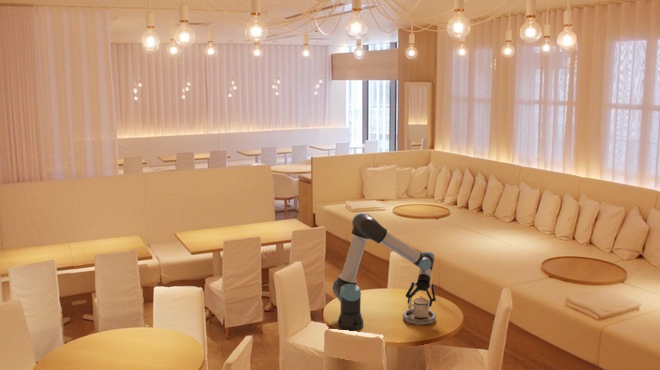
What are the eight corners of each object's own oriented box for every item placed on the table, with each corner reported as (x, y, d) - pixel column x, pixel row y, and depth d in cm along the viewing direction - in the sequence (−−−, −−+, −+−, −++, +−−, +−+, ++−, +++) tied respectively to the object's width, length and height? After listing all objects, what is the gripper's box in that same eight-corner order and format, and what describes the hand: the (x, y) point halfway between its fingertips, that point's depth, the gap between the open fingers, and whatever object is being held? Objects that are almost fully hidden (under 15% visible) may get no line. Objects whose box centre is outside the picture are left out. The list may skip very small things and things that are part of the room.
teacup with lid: (424, 311, 389) (425, 293, 386) (431, 317, 380) (431, 298, 378) (406, 313, 385) (406, 295, 383) (412, 319, 377) (412, 301, 374)
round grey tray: (399, 323, 378) (399, 318, 377) (407, 311, 395) (407, 306, 395) (431, 327, 371) (432, 322, 370) (438, 315, 389) (438, 310, 388)
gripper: (444, 281, 389) (438, 315, 378) (407, 276, 397) (400, 309, 386) (442, 275, 383) (436, 309, 372) (405, 271, 391) (398, 304, 380)
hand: (418, 309), depth 379 cm, fingers closed on teacup with lid, 11 cm apart
